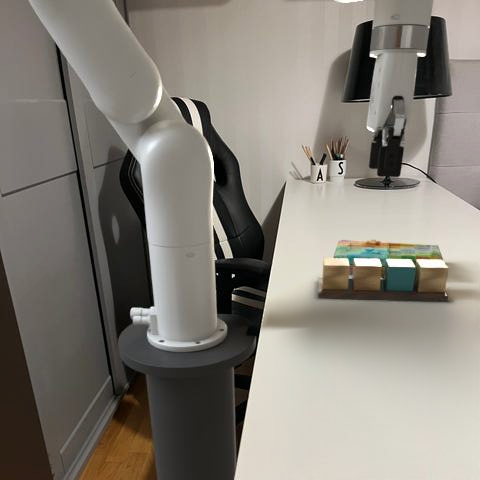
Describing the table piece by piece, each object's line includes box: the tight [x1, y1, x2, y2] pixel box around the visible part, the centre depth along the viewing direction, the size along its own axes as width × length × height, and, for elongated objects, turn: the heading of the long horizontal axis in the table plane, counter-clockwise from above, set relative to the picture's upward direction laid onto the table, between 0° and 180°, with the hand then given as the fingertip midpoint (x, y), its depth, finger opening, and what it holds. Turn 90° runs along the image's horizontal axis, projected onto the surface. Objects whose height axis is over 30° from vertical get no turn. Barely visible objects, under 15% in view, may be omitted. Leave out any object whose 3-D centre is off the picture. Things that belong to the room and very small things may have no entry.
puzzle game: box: [333, 239, 445, 277], centre depth 99 cm, size 12×5×20 cm
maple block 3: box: [414, 259, 449, 292], centre depth 86 cm, size 4×4×4 cm
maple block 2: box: [351, 259, 382, 291], centre depth 88 cm, size 4×4×4 cm
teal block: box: [383, 259, 416, 291], centre depth 87 cm, size 4×4×4 cm
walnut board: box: [317, 277, 449, 303], centre depth 89 cm, size 22×8×1 cm, turn 82°
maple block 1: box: [321, 257, 350, 290], centre depth 89 cm, size 4×4×4 cm
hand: (383, 172), depth 76 cm, fingers open, 9 cm apart
